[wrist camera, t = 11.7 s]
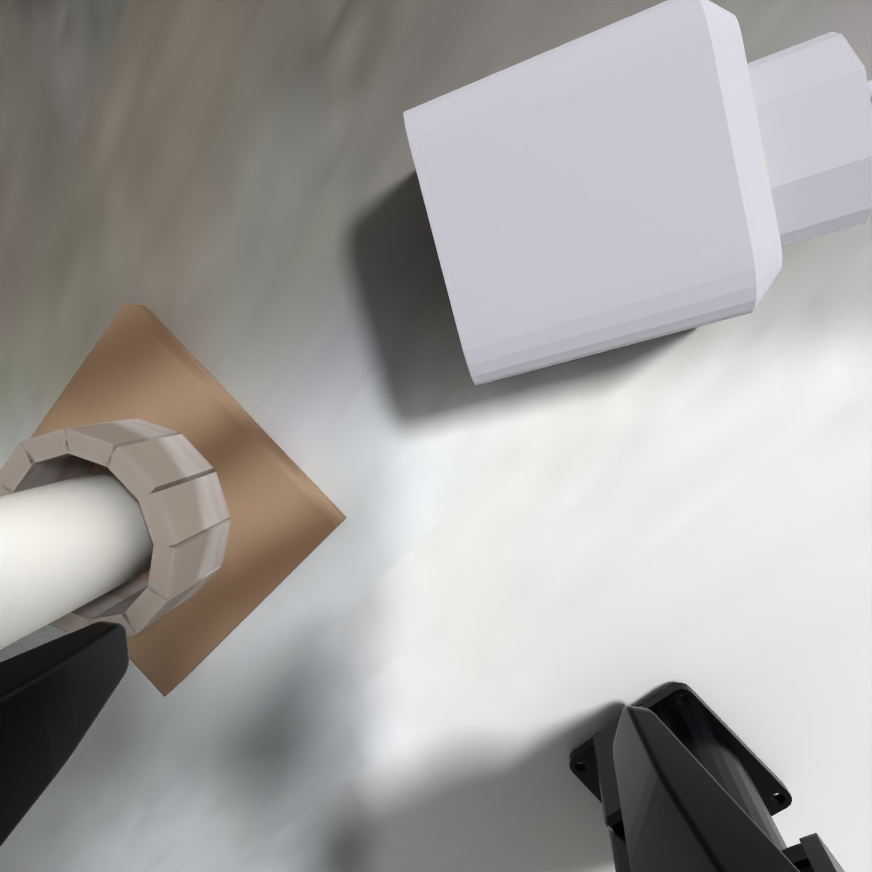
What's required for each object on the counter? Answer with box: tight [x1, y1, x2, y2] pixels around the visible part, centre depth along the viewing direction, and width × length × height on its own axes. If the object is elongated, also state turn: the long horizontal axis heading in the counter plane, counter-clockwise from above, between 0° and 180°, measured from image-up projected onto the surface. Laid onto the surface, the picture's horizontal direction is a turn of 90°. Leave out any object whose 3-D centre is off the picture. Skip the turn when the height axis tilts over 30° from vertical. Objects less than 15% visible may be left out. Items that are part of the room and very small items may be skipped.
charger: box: [404, 0, 872, 386], centre depth 16 cm, size 5×9×15 cm
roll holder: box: [0, 303, 346, 697], centre depth 22 cm, size 14×14×5 cm
